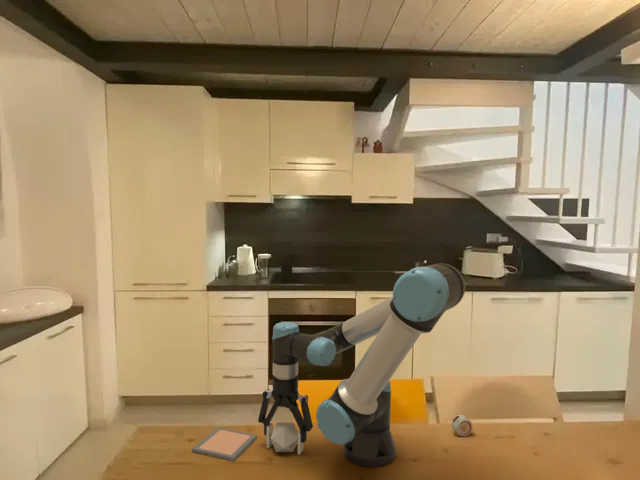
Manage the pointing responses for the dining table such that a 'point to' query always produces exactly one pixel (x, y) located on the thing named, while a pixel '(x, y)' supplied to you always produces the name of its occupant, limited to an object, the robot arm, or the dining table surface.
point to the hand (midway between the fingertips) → (285, 448)
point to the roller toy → (461, 425)
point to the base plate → (225, 444)
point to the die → (284, 437)
